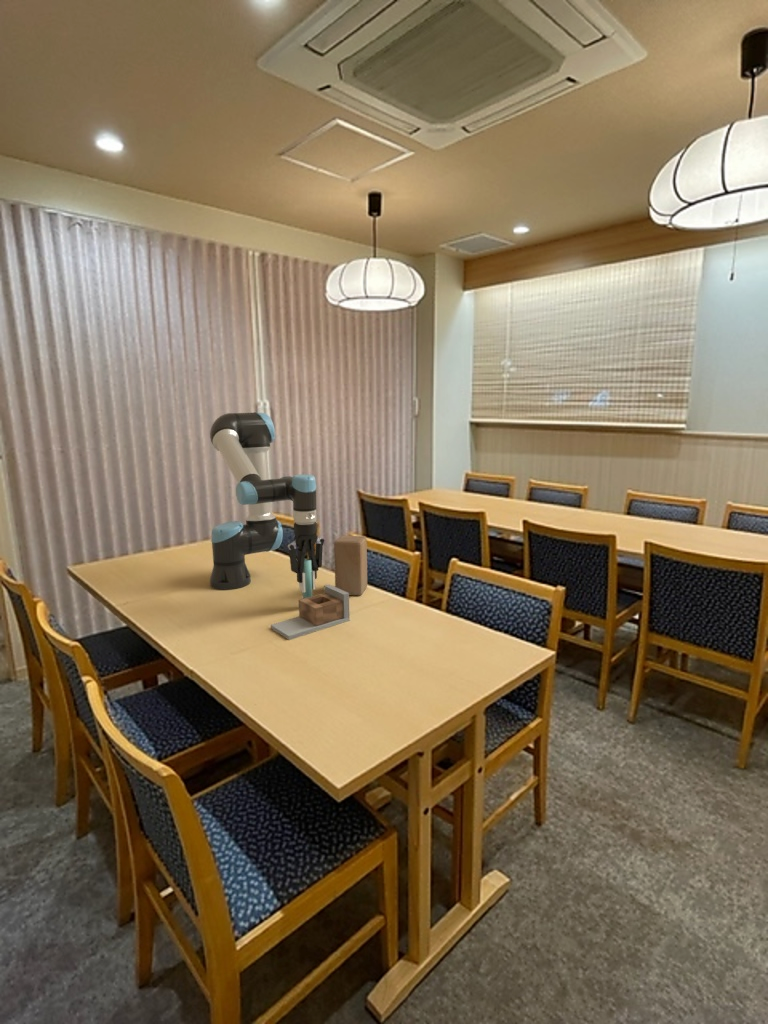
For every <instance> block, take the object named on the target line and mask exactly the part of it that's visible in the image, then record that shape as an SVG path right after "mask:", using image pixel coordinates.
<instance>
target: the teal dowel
mask: <svg viewBox="0 0 768 1024" xmlns="http://www.w3.org/2000/svg"><path fill="white" fill-rule="evenodd" d="M303 573H305V591H306V592H302V599H303V598H307V597H311V596H313V589H312V567H311V559H309V558H304V566H303Z"/></svg>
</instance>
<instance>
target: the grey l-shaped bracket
mask: <svg viewBox="0 0 768 1024" xmlns="http://www.w3.org/2000/svg"><path fill="white" fill-rule="evenodd" d="M323 589H324V592H323V593H327V594H329V595H331V596H333V597H336V598H338V599H340V600H342V601H343V618H340V619H336V620H333V621H330V622H327V623H323V624H320V625H317V626H316V625H314V624H313V623H311V622H309V621H307V620H305V619H304V618H302V617H300V616H299V615H298V616H296V617H293V618H289V619H285V620H283V621H279V622H275V623H272V624H270V629H271V630H273V631H274V632H275V633H277V634H279V635H280V636H282V637H284V638H285V639H287V640H288V641H290V640H293V639H296V638H300V637H302V636H305V635H308V634H311V633H315V632H317V631H322V630H324V629H327V628H331V627H334V626H336V625H340V624H343V623H346V622H349V621H350V620H351V619H350V615H351V614H350V595H349V593H348V592H345V591H343V590H341V589H338V588H336V587H335V586H333V585H331V584H325V585H324V587H323Z"/></svg>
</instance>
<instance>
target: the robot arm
mask: <svg viewBox="0 0 768 1024" xmlns="http://www.w3.org/2000/svg"><path fill="white" fill-rule="evenodd" d="M275 436H276V430H275V425H274V423H273V420H272V418H271V417H270V416H269V415H268V413H265V412H237V413H236V412H234V413H233V412H230V413H229V412H228V413H223V414H222V415H220V416H219V417H217V418H216V419H215V421H214V422H213V423H212V425H211V427H210V431H209V438H210V443H211V445H212V446H213V447H214V449H215V450H216V451H218V452H220V454H221V456H222V458H223V460H224V461H225V463H226V465H227V467H228V469H229V471H230V472H231V474H232V476H233V478H234V479H235V482H236V483H237V484H236V486H235V495H236V500H237V501H238V503H239V504H240V505H242V506H244V505H246V506H247V505H248V516H247V517H246V518H245V524H243V522H241V521H239V520H238V521H236V520H235V521H228V522H222V523H220V524H218V525H216V526H214V527H213V528H212V530H211V541H210V542H211V546H212V547H211V548H212V559H213V560H212V561H213V567H212V571H211V574H210V577H209V585H210V587H211V588H213V589H216V590H234V589H235V590H236V589H239V588H244V587H246V586H248V585H249V584H251V581H252V580H251V579H252V578H251V573H250V572H249V569H248V567H247V564H246V558H245V556H246V555H247V556H248V555H252V554H258V553H265V552H271V551H274V550H277V549H278V548H279V547H281V544H282V541H283V535H284V532H283V527H282V522H280V521H279V520H277V517H276V515H275V514H274V513H272V503H276V502H283V501H284V502H285V501H291V502H292V507H293V509H292V511H293V512H292V514H293V522H294V523H293V534H294V538H293V541H292V542H291V543H287V544H286V548H287V550H288V552H289V553H288V555H289V564H290V571H291V572H293V573H295V574H296V582H298V587H299V588H298V589H299V592H302V593H303V592H306V591H305V573H303V566H304V559H305V554H306V553H307V554H308V559H311V567H312V591H313V590H316V579H317V578H318V574H317V573H318V571H319V568H322V566H323V552H324V551H323V547H324V544H325V539H324V538H321V537H318V535H317V534H318V524H317V518H318V517H317V483H316V477H315V476H314V475H313V474H306V473H305V474H295V475H293V476H290V475H289V476H288V475H286V476H285V475H284V476H281V477H280V478H273V479H270V477H269V476H270V475H269V466H268V463H269V462H268V451H269V450H270V448H271V443H274V441H275Z"/></svg>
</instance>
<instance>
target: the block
mask: <svg viewBox="0 0 768 1024" xmlns="http://www.w3.org/2000/svg"><path fill="white" fill-rule="evenodd" d="M367 539H368V538H367V536H365V535H343V534H342V535H340V537H338V538H337V539H336V540H335V541H334V542H333V549H334V550H333V551H334V585H335V586H334V587H336V588H338V589H341V590H343V591H345V592H348V593H349V596H362V595H363V593H364V592H365V591H366V589H367V588H368V553H367V552H368V551H367V550H368V544H367V543H368V542H367V541H368V540H367Z"/></svg>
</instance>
